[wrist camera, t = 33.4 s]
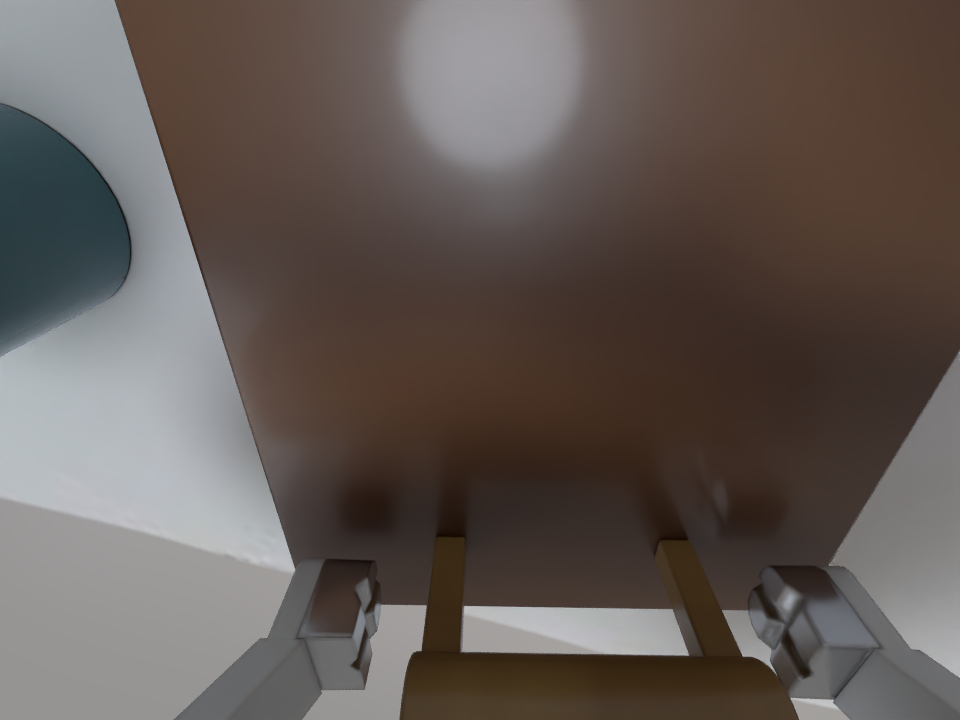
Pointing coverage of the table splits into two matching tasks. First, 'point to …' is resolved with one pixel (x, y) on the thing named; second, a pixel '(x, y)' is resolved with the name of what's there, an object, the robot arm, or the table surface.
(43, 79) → the table surface
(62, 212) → the canister
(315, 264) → the lid
